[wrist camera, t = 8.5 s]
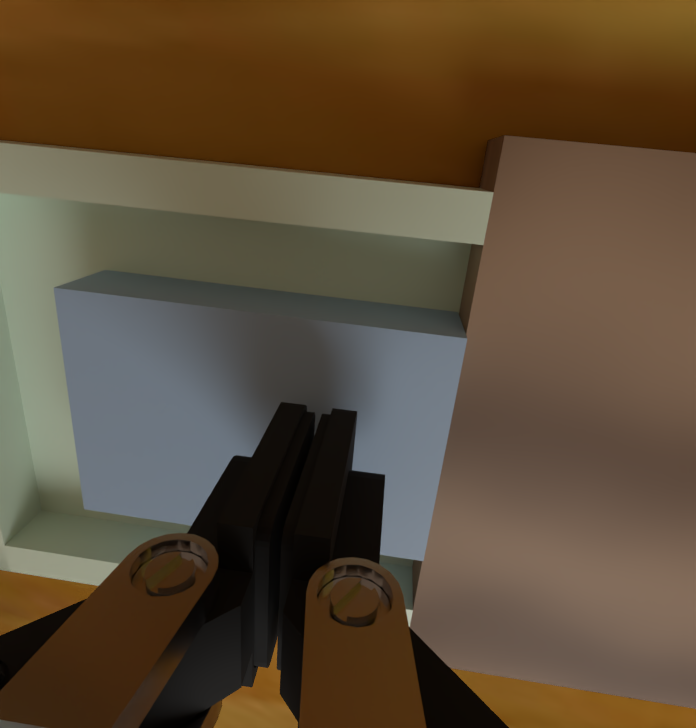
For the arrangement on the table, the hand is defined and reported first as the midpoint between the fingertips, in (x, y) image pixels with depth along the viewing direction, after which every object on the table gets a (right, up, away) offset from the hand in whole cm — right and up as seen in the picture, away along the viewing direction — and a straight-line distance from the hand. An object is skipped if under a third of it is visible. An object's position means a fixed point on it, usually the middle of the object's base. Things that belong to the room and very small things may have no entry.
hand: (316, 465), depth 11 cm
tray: (-3, +2, +3) cm, 5 cm away
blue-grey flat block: (-1, +1, +3) cm, 3 cm away
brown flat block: (+8, 0, +2) cm, 8 cm away
